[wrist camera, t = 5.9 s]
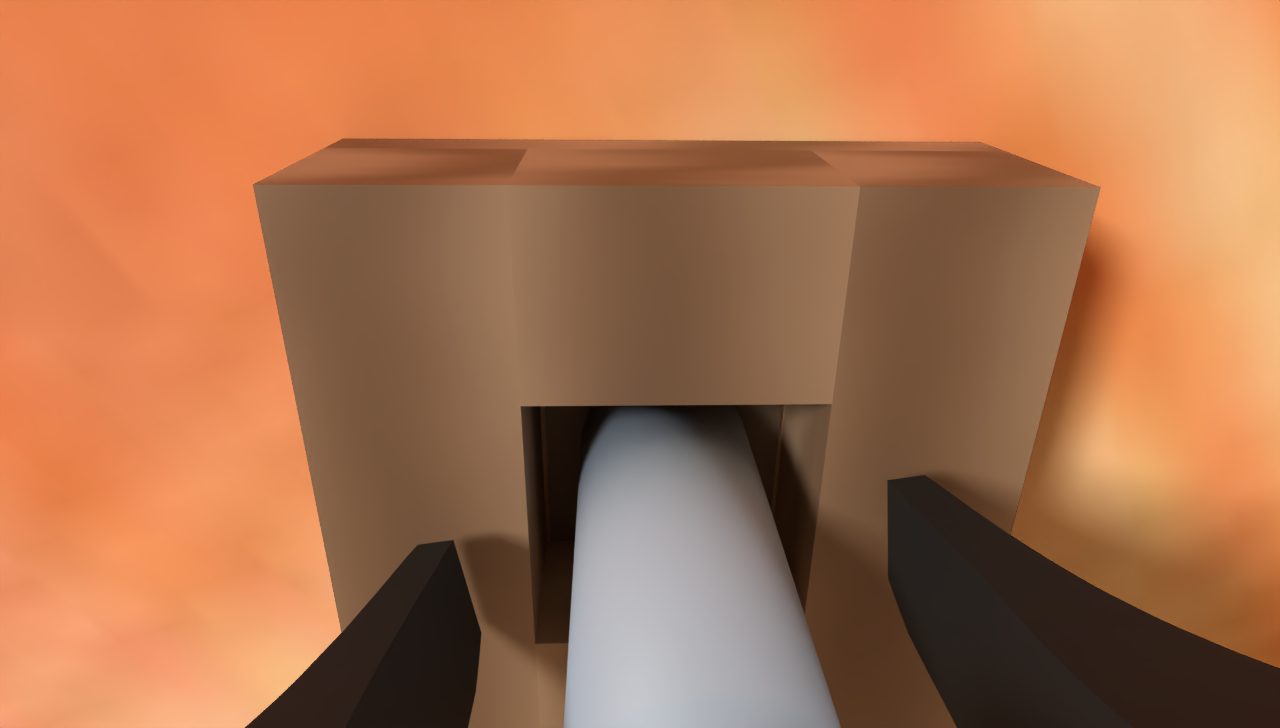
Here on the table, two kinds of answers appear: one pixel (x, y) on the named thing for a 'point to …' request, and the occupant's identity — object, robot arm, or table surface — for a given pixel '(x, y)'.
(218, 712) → the table surface
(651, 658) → the dowel
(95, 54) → the table surface
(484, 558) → the walnut block
